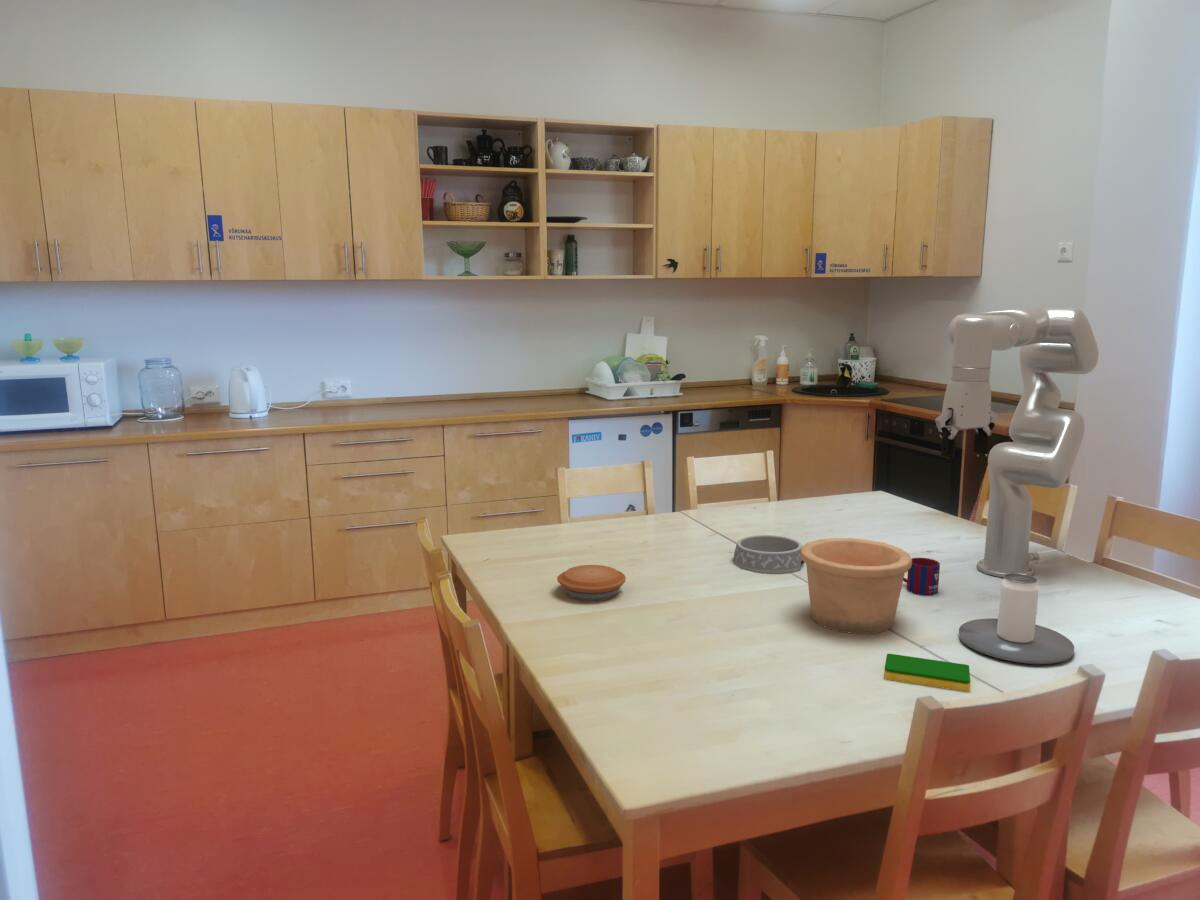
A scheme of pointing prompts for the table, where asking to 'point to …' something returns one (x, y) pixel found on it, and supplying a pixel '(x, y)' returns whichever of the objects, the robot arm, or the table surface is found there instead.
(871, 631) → the pottery
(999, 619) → the can
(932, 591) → the mug
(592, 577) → the pie
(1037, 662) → the dish
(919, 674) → the dish sponge
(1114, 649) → the table surface
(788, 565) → the dog bowl
